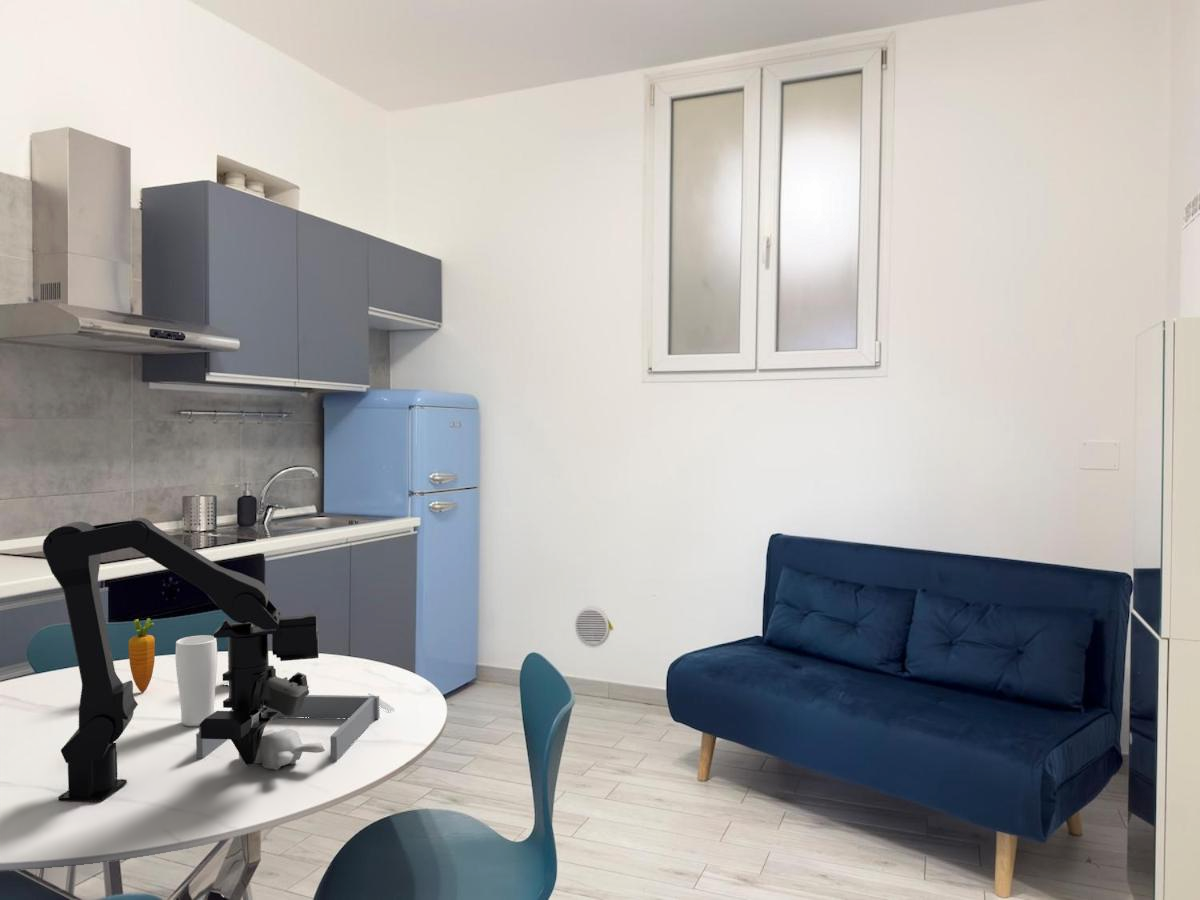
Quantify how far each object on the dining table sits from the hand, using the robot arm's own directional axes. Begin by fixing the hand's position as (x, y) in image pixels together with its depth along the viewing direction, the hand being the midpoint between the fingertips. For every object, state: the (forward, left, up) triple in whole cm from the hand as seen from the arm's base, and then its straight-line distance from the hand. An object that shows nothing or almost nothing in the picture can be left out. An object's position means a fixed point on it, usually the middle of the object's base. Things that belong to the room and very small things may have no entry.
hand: (250, 764), depth 132 cm
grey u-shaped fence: (+16, 0, -2) cm, 16 cm away
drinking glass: (+22, +20, -2) cm, 29 cm away
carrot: (+38, +40, -2) cm, 55 cm away
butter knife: (+39, -5, -2) cm, 40 cm away
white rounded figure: (+4, -3, -2) cm, 5 cm away
